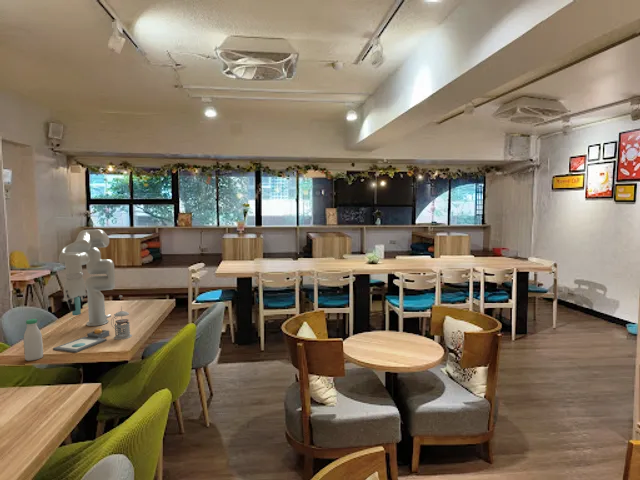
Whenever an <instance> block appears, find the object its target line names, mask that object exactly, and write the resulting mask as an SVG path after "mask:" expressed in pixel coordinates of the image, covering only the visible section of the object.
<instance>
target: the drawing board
mask: <svg viewBox="0 0 640 480" xmlns="http://www.w3.org/2000/svg"><path fill="white" fill-rule="evenodd" d="M106 341H107V338H93V337H87V336H82V337H79V338H78V339H74V340H71V341H69V342H65V343H63V344H61V345H57V346H56V347H55V346H54V347H53V348H52V350H53V351H60V352H68V353H79V352H81V351H83V350H86V349H89V348H92V347H94V346H97V345H99V344H102V343H104V342H106Z"/></svg>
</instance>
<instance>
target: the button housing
mask: <svg viewBox="0 0 640 480" xmlns="http://www.w3.org/2000/svg"><path fill="white" fill-rule="evenodd" d="M109 336H110V330H109V329H108V330H106V329H102V332H101V333H99V334H96V333H94V331H91V332H87V334H86V337H93V338H102V339H105V338H107V337H109Z"/></svg>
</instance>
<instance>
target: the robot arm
mask: <svg viewBox="0 0 640 480" xmlns="http://www.w3.org/2000/svg"><path fill="white" fill-rule="evenodd" d="M109 245H110V237H109V235H108V234H107V233H106V232H105V230H103V229H96V228H95V229H83V230H80V232H78V234H77V237H76V239H75V241H73V242H71V243H69V244H67V245H65V246H64V247H63V248H62V249H61V251H60V254H59V257H58V262H59V265H60V266H62V267H63V266H64V267H65V280H64V284H63V301H64V302H67V303H68V304H69V311H70V312H72V311H75V304H74V298H76V297H78V296H80V306H81V310H83V308H84V306H83V302H84V299H85V297H87V308H88V321H87V322H86V326H88V327H96V326H102V325H107V323H109V320H108V318H111V317H112V315H111V314H110V313H109V314H106V308H105V307H106V306H105V296H104V295H105V294H103V293H102V292H101V291H110V290H111V291H112V290H113V289H115V288H116V271H115V263H114V261H113V260H112V259H108V258H107V259H104V258H103V259H102V255H101V254H102V253H101V251H100V249H101V248H107V247H108V246H109ZM99 248H100V249H99ZM85 265H86V272H87V273H88V274H89V275H94V276H88V277H87V278H86V279H84V277H83V276H84V273H83V266H85ZM104 274H105V275H104ZM71 299H72V300H71Z"/></svg>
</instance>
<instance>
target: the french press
mask: <svg viewBox="0 0 640 480" xmlns="http://www.w3.org/2000/svg"><path fill="white" fill-rule="evenodd" d="M118 298H120V299H122V298H123V295H121V294H119V296H118ZM122 308H123V307H120V310H121V311H118V312H116V313H114V314H113V318H111V319H110V325H111V327H113V329H114V334H115V336H114V337H113V339H114V340H118V341H119V340H120V341H121V340H125V339H129V338H131V337H132V336H133V335H132V334H131V332H130V331H131V330H130V329H131V328H130V322H129V321H130V320H129V319H127V318H126V319H124V318H121V319H117V318H118V317H126V316H128V315H130V313H129V312H128V311H126V310H125V311H123V310H122ZM114 319H115V323H114ZM116 319H117V320H116ZM112 323H113V324H112Z"/></svg>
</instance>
